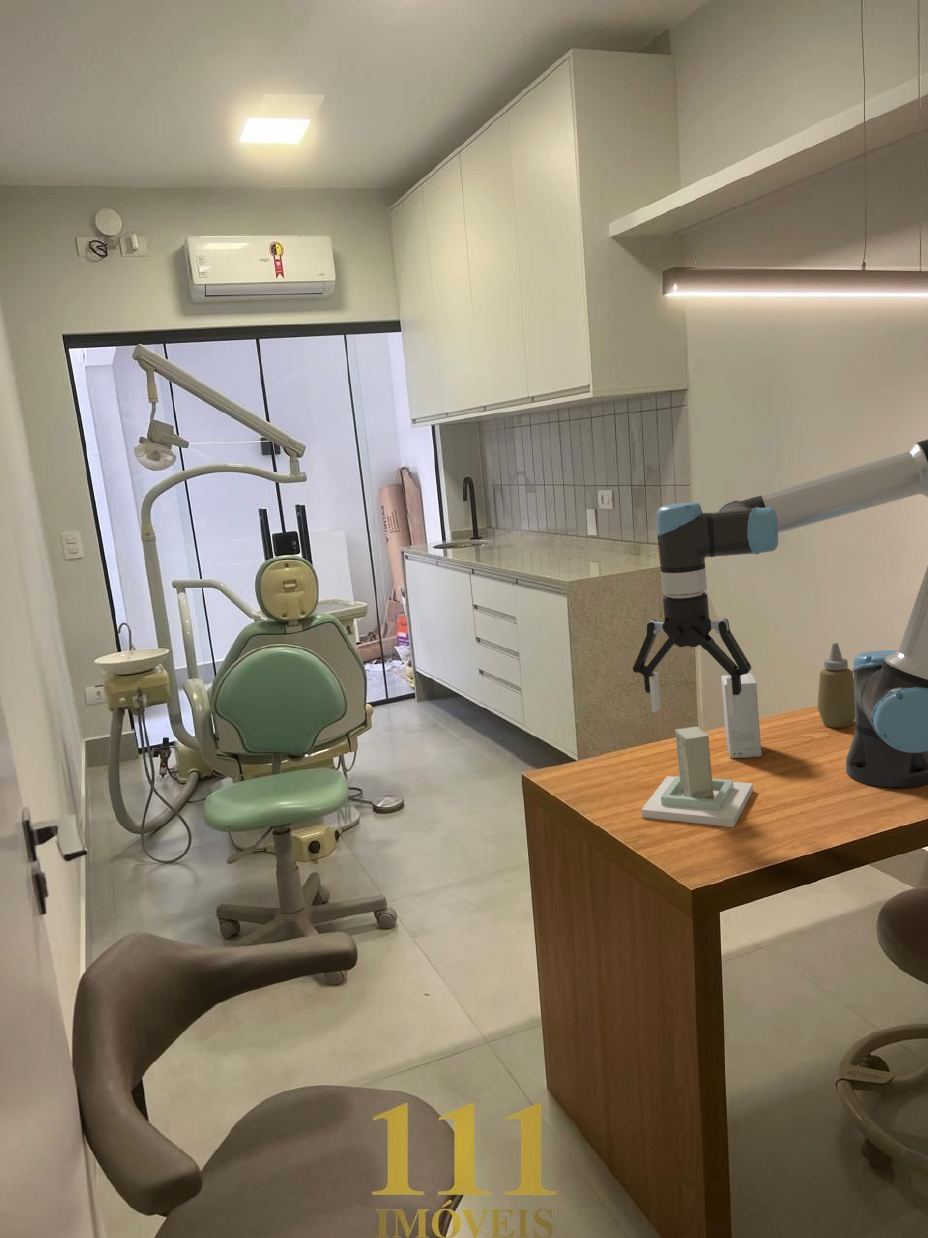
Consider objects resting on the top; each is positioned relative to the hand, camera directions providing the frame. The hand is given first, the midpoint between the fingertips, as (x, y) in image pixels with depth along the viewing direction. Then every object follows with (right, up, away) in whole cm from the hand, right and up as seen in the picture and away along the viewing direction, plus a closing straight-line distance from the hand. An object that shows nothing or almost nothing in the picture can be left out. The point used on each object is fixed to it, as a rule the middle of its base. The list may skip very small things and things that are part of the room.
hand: (693, 711), depth 159 cm
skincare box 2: (+17, -11, +26) cm, 33 cm away
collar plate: (+2, -17, +3) cm, 18 cm away
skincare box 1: (+1, -16, +3) cm, 16 cm away
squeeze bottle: (+40, -7, +35) cm, 54 cm away
